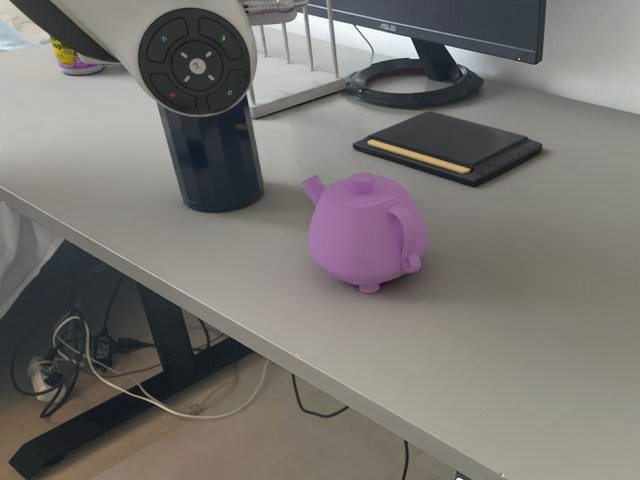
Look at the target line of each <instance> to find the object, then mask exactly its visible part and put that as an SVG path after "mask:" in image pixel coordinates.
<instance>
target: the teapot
mask: <svg viewBox="0 0 640 480" xmlns="http://www.w3.org/2000/svg"><path fill="white" fill-rule="evenodd" d="M301 186H302V188H303V190H304V191H305V192H306V194H307V195H308V197H309V198H310V200H311V202H312V203H313V204H314V206H315V209H314V211H313V214H312V217H311V221H310V226H309V229H308V230H309V231H308V249H309V251H308V252H309V254H310V256H311V259H312V261H314V262H315V263H316V264H317V265H318V266H319V267H320V268H321V269H322V270H323V271H324V272H326V273H327V274H328V275H329V276H331V277H333V278H335V279H336V280H339V281H341V282H344V283H346V284H350V285H356V286H358V290H359V291H360V292H361V293H364V294H374V293H376V292H378V291H379V290H380V288H381V287H380V284H382V283H386V282H388V281H391V280H396V279H397V278H400V277H401V276H404V275H408V274H410V275H411V274H413V273H416V272H418V271H420V269H421V268H422V262H421V260H422V258H423V257H424V255H425V253H426V252H427V250H428V246H429V237H428V230H427V226H426V223H425V220H424V217H423V215H422V213H421V211H420V209H419V207H418V205H417V203H416V202H415V201H414V199H413V198H412V196H411V194H410V193H409V191H408V190H407V189H406V187H405V186H404V185H402V184H401V183H400V182H398V181H396V180H394V179H391V178H389V177H386V176H383V175H379V174H374V173H371V172H367V171H360V172H356V173H354V174H352V175H350V177H347V178H343V179H340V180H338V181H336V182H334V183H332V184H330V185H329V186H328V187H326V186H325V184H324V183H323V181H322V180H321V178H320V177H319V175H317V174H316V175H312V176H310V177H308V178H307V179H305V180H304V181H303V182H302V183H301Z"/></svg>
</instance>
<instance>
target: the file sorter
mask: <svg viewBox="0 0 640 480" xmlns="http://www.w3.org/2000/svg"><path fill="white" fill-rule="evenodd" d="M325 3H326V11H327V18H328V19H327V20H328V29H329V38H330V48H331V56H332V57H331V58H332V67H333V73H331V72H327V71H324V70H320V69H317V68H315V66H314V58H313V47H312V40H311V39H312V37H311V29H310V21H309V12H308V6H307V7H305V8H302V14H303V21H304V22H303V23H304V31H305V32H304V33H305V39H306V49H307V50H306V51H307V58H308V63H309V64H308V65H309V66H307V65H304V64H300V63H298V62H294V61H291V56H290V48H289V39H288V32H287V23H282V24H280V25H281V31H282V40H283V41H282V42H283V48H284V54H285V55H284V56H285V59H283V58H279V57H276V56H273V55H269V54H268V49H267V43H266V42H267V41H266V37H265V31H264V25H259V26H258V29H259V35H260V41H261V47H262V49H261V50H262V52H259V51H257V54H258V61H257V69H256V73H255V77H254V79H253V82H252V84H251V87H250V89H249V90H248V92H247V98H248V103H249V108H250V114H251V119H258V118H261V117H264V116H267V115H270V114H273V113H276V112H278V111H282V110H285V109H288V108H291V107H294V106H297V105H299V104H303V103H306V102H308V101H311V100H315V99H318V98H321V97H324V96H327V95H330V94H333V93H336V92H338V91H342V90H345V89H347V84H346V78H345V77H344V76H342V75H339V64H338V55H337V45H336V34H335V25H334V17H333V15H334V14H333V8H332V7H333V6H332V0H325Z"/></svg>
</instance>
